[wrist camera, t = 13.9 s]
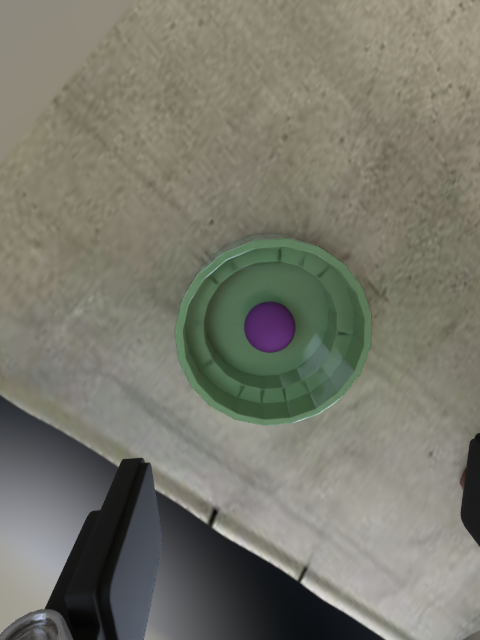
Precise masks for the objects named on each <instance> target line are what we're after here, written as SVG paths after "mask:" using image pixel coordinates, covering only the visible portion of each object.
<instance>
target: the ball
mask: <svg viewBox="0 0 480 640" xmlns="http://www.w3.org/2000/svg"><path fill="white" fill-rule="evenodd" d="M295 328H296V326H295V320H294V317H293V315H292V313H291V312H290V311H289V310H288V309H287V308H286V307H285V306H284V305H282V304H280V303H277V302H272V301H268V302H262V303H260V304H258V305H256V306H254V307H253V308H252V309H251V310H250V311H249V313H248V314H247V316H246V318H245V322H244V332H245V336H246V338H247V340H248V342H249V343H250V344H251V345H252V346H253V347H254V348H256V349H257V350H259V351H262V352H266V353H274V352H278V351H281V350H282V349H284V348H286V347H287V346H288V345H289V344H290V342H291V341H292V339H293V337H294V334H295Z"/></svg>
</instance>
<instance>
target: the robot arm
mask: <svg viewBox="0 0 480 640" xmlns="http://www.w3.org/2000/svg"><path fill="white" fill-rule="evenodd" d="M461 519H462V522H463V524H464V526H465V528H466V529H467V530H468V532H469V533H470V534H471V536H472V537H473V538H474V540H475V541H476V542H477V544H478V545H479V547H480V433H478V434H476V436H475V438H474V439H472V440H471V441H470V444H469V452H468V460H467V468H466V475H465V483H464V491H463V498H462V506H461ZM161 550H162V532H161V525H160V519H159V513H158V506H157V500H156V494H155V487H154V481H153V474H152V468H151V464H150V463H145V462H144V459H143V458H133V459H123V460H122V461H121V463H120V466H119V468H118V471H117V473H116V475H115V478H114V480H113V482H112V485H111V487H110V489H109V492H108V494H107V496H106V499H105V501H104V503H103V506H102V508H101V510H98V511H92V512H90V513H89V515H88V516H87V518H86V520H85V523H84V525H83V527H82V529H81V531H80V534H79V535H78V538H77V540H76V542H75V544H74V546H73V549H72V551H71V553H70V555H69V557H68V559H67V562H66V564H65V566H64V568H63V571H62V572H61V575H60V577H59V579H58V581H57V583H56V586H55V588H54V590H53V592H52V594H51V596H50V599H49V601H48V603H47V605H46V607H45V609H41V610H37V611H34V612H30V613H28V614H27V615H25V616H23V617H21V618H19V619H17V620H16V621H15V622H13V623H12V624H11V625H10V626H8V627H7V628H6V629H5V630H4V631H3V632H2V633H1V634H0V640H144V636H145V631H146V626H147V621H148V616H149V611H150V606H151V601H152V596H153V591H154V585H155V581H156V576H157V570H158V566H159V560H160V556H161Z"/></svg>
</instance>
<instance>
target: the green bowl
mask: <svg viewBox="0 0 480 640" xmlns="http://www.w3.org/2000/svg"><path fill="white" fill-rule="evenodd" d="M268 301H272V302H277V303H280V304H282V305H284V306H285V307H286V308H287V309H288V310H289V311H290V312H291V313H292V315H293V317H294V320H295V326H296V328H295V334H294V337H293V339H292V341H291V342H290V344H289V345H288V346H287V347H286V348H284V349H282V350H281V351H278V352H274V353H266V352H262V351H259V350H257V349H256V348H254V347H253V346H252V345H251V344H250V343H249V342H248V340H247V338H246V336H245V332H244V322H245V318H246V316H247V314H248V313H249V311H250V310H251V309H252V308H253V307H254V306H256V305H258V304H260V303H262V302H268ZM371 330H372V315H371V312H370V309H369V306H368V302H367V299H366V296H365V293H364V289H363V288H362V286H361V285H360V284H359V282H358V281H357V279H356V278H355V277H354V275H353V274H352V273H351V271H350V270H349V269H348V267H347V266H346V265H345V264H344V263H343V262H341V261H340V260H338V259H337V258H335V257H334V256H332V255H331V254H329V253H328V252H326V251H325V250H323V249H322V248H320V247H319V246H316V245H314V244H311V243H309V242H307V241H304V240H301V239H297V238H293V237H289V236H286V235H282V234H262V235H250V236H247V237H244V238H242V239H239V240H237V241H234V242H232V243H230V244H227V245H225V246H223V247H222V248H221V249H219V250H218V251H217V252H216V253H215V254H213V255H212V256H211V257H210V258H209V259H208V260H206V261H205V262H204V263H203V264H202V265H201V267H200V269H199V270H198V272H197V274H196V275H195V277H194V279H193V280H192V282H191V284H190V285H189V287H188V289H187V291H186V293H185V295H184V297H183V299H182V301H181V304H180V309H179V313H178V318H177V322H176V327H175V338H176V346H177V354H178V360H179V363H180V365H181V367H182V369H183V371H184V373H185V375H186V377H187V379H188V381H189V383H190V385H191V387H192V388H193V389H194V390H195V391H196V392H197V393H198V394H199V395H200V396H201V397H202V398H203V399H204V400H205V401H206V402H207V403H208V404H209V405H210V406H211V407H213V408H215V409H216V410H218V411H220V412H222V413H224V414H226V415H227V416H229V417H231V418H233V419H236V420H239V421H244V422H249V423H254V424H258V425H278V424H291V423H295V422H297V421H300V420H303V419H306V418H309V417H311V416H314V415H317V414H319V413H321V412H322V411H324V410H325V409H326V408H328V407H329V406H331V405H332V404H333V403H335V402H336V401H338V400H339V399H340V398H342V396H344V395H345V393H346V392H347V391H348V389H349V388H350V387H351V386H352V384H353V383H354V382H355V380H356V379H357V378H358V377H359V375H360V373H361V371H362V369H363V366H364V363H365V361H366V358H367V355H368V353H369V350H370V346H371Z"/></svg>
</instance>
